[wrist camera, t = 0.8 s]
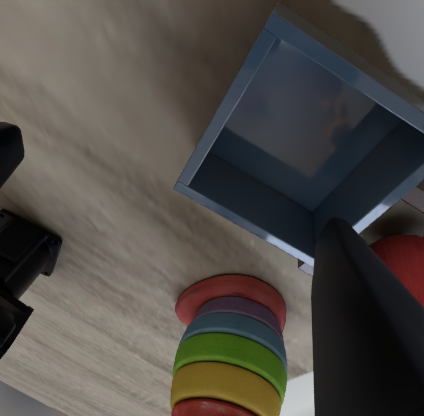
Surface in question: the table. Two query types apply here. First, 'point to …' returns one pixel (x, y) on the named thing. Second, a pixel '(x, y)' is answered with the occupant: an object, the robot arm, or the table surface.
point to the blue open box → (306, 139)
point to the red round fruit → (404, 260)
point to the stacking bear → (230, 349)
